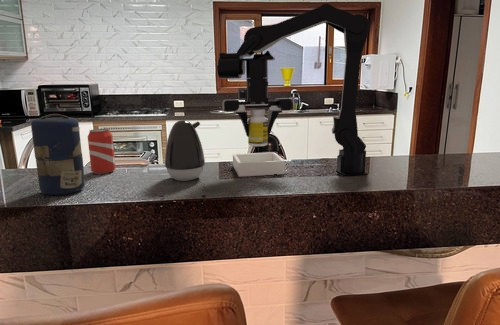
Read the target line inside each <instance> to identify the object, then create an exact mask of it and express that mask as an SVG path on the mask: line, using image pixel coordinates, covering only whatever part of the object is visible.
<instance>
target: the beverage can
mask: <svg viewBox="0 0 500 325" xmlns="http://www.w3.org/2000/svg"><path fill="white" fill-rule="evenodd" d="M113 140H114V139H113V133H112V132H111V131H110V129H109V128H96V129H89V133H88V135H87V143H88V144H87V145H88V152H89V162H90V170H91V172H93V173H94V174H96V175H105V174H104V173H107V174H110V173H109V172H111V173H112V172H113V171H115V170H116V161H115V160H116V158H115V151H114V150H115V149H114V141H113Z"/></svg>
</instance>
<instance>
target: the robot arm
mask: <svg viewBox="0 0 500 325" xmlns="http://www.w3.org/2000/svg"><path fill="white" fill-rule="evenodd" d="M323 24H325V25H328V26H329V27H331V28H333V30H336V31H338V32H340V33H342V34H343V40H344V50H345V60H344V61H345V62H344V63H345V64H344V71H343V73H344V74H343V83H342V90H341V91H342V93H341V102H340V103H341V105H340V110H339V114H338V116H337V115H333V116H332V119H333V124H332V125H333V126H332V128H331V134H332V135H334V139H335V142H337V144H338V145H340V146H341V147H342V149H339V150H338V155H337V157H336V168H335V171H336V172H337V173H340V174H341V175H343V176H346V177H347V176H349V177H350V176H362V175H363V176H364V175H365V176H366V175H368V174H369V172H368V171H366V161H367V160H366V159H367V150H366V148H367V145H366V143H365V142H364V141H363V139H362V138H361V137H360V136H359V133H358V119H357V110H356V108H357V100H358V92H359V91H358V90H359V80H360V73H361V61H362V54H363V52H364V48H365V45H366V42H367V39H368V35H369V32H370V28H371V23H370V20H369V18H368V17H367V16H365V15H364V14H360V13H357V14H352V13H350V12H349V11H346V10H343V9H340V8H337V7H335V6H332V5H331V4H330V3H322V4H321V5H319V6H318V7H315V8H312V9H311V10H310V9H309V10H308V11H305V12H303V13H300V14H298V15H295V16H293V17H289V18H287V19H285V20H283V21H280V22H277V23H273V24H264V25H258V26H255V27H251V28H248V29H247V30H246V31H245V33H244V36H243V42H242V44H241V45H240V47H239V48H238V49H237V51H236V52H233V53H232V52H230V53H228V52H220V53H219V58H218V61H217V66H216V67H217V68H216V69H217V76H218V78H219V80H229V79H231V80H235V79H236V80H238V79H242V76H243V75H244V76H245V75H246V87H238V89H237V96H238V99H235V98H234V99H224V100H223V101H222V111H224V112H233V113H234V114H235V115H238V117H239V119H240V120H241V121H240V122H241V123H242V126H243V129H244V133H245V135H246V137H247V138H248V137H249V128H248V119H249V118H248V111H246V109H262V108H265V109H266V108H269V109H267V120H268V136H270V134H271V132H272V129H273V126H274V124H275V121H276V119H277V117H278V116H279V114H281V113H283V110H293V109H294V101H293V99H292V98H289V97H280V98H279V97H278V98H274V100H269V80H268V79H269V76H268V75H269V74H268V73H269V72H268V71H269V68H268V67H269V66H268V63H269V62H268V61H275V60H276V58H275V56H273V55H272V53H271V52H270V51H269V50H268V49H269V48H271V47H273V46H274V45H276V44H277V43H278V42H279V41H282V40H284V39H286V38H288V37H291V36H294V35H296V34H299V33H301V32H305V31H306V30H309V29H312V28H315V27H318V26H320V25H323ZM262 52H265V53H262ZM255 53H257V54H255ZM252 56H253V57H252Z"/></svg>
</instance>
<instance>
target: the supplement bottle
mask: <svg viewBox="0 0 500 325" xmlns="http://www.w3.org/2000/svg"><path fill="white" fill-rule="evenodd" d="M250 115H251V116H250V117H249V118H248V128H249V137H247V142H248V146H251V147H265V146H267V145H268V144H269V142H268V141H269V137H268V117H265V115H266V108H265V109H262V108H251V109H250Z"/></svg>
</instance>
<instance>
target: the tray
mask: <svg viewBox="0 0 500 325" xmlns="http://www.w3.org/2000/svg"><path fill="white" fill-rule="evenodd" d="M232 167H233V168H234V170H235V172H236V174H237V176H238V177H255V176H270V175H271V176H272V175H273V176H274V174H277V175H286V160H285V159H284V158H282V157H281V156H280V155H278V154H277V153H276V152H274V151H273V152H272V151H271V152H254V153H253V152H251V153H249V152H248V153H233V154H232Z"/></svg>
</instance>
